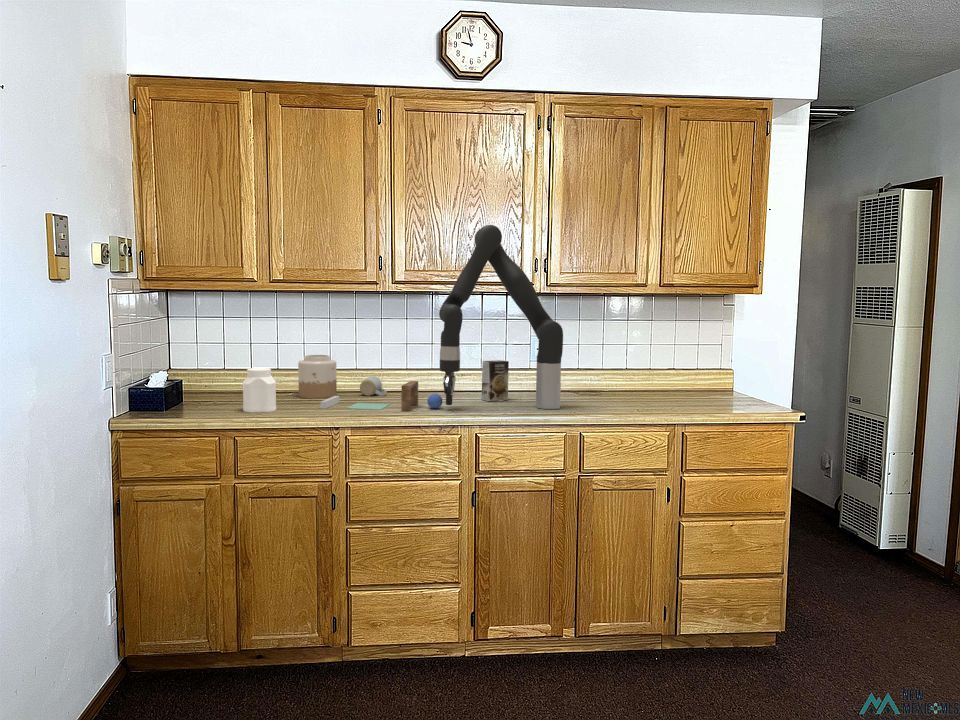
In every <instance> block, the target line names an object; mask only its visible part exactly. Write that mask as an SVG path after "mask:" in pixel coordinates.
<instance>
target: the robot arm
mask: <svg viewBox="0 0 960 720" xmlns="http://www.w3.org/2000/svg"><path fill="white" fill-rule="evenodd" d="M502 239H503V234H502V231H501V229H500V228H499V227H498V226H496V225H494V224H488V225H483V226H482V227H481V228H480V229H478V230H477V232H476V233H475V234H474V243H475V247H474V249H473V251H472V254H471V255H470V256H469V257H470V258H469V259H468V260H467V262H466V265H465V266H464V267H463V269H462V271H461V273H459V275H458V276H457V277H458V278H456V281H455V283H454V285H453V287H452V289H451V291H450V293H449V295H448V296H447V297H446V298H445V300H444V301H443V303H442V304H441V307H440V309H439V312H438V313H439V314H438V315H439V318H440V320H441V321H442V322H443V330H442V331H441V334H440V349H439V372H444V373H445V374H444V376H443V379H442V380H443V381H442V383H443V384H442V385H443V390H444V391H443V392H444V395H445V405H446V406H452V405H453V396H454V392H455V388H456V375H455V373H458V372H460V370H461V347H460V344H461V343H460V341H461V339H460V338H461V337H460V333H461V331H462V325H463V316H464V315H463V311H462V306H463V305H464V304H465V303H467V301H468V300H469V299H470V298H471V295H472V294H473V291H474V289H475V288H476V285H477V282H478V281H479V279H480V277H481V275H482V272H483V270H484V268H485V267H486V264H487V263H488V262H489V264H490V265H491V267H492V268H493V270H494V272H495V274H496V275H497V276H498V279H499V281H500V282H501V283H502V285H503V287H504V289H505V290H506V291H507V293H508V295H509V296H510V297H511V299H512V300H513V302H514V303H515V304H516V306H517V307H518V309H520V311H521V312H522V313H523V315H524V316H525V317H526V319H527V321H528V322H529V324H530V325H531V327H532V330H533V331H534V334H535V335H536V338H537V339H538V351H537V354H536V377H535V378H536V379H535V380H536V383H535V384H536V385H535V407H536V408H537V409H544V410H558V409H559V410H560V409H561V393H562V392H561V386H562V384H561V383H562V380H561V376H562V375H561V374H562V357H563V349H564V348H563V347H564V332H563V327H562V326H561V324H560V323H559V322H557V321H555V320H554V319H553V318H552V317H551V316H550V315H549V314H548V313H547V311H546V310H545V309H544V307H543V305H542V303H541V301H540V298H539V296H538V294H537V291H536V289H535V287H534V285H533V284H532V282H531V280H530V279H529V277H528V276H527V275H526V273H525V272H524V270H523V269H522V268H521V267H520V266H519V264H517V263H516V262H515V261H513V260H512V258H510V257H509V255H508V253H507V252H506V250H505V249H504V247H503V245H502Z"/></svg>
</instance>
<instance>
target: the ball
mask: <svg viewBox="0 0 960 720" xmlns="http://www.w3.org/2000/svg"><path fill="white" fill-rule="evenodd" d="M426 400H427V405H428V407H429V408H431V409H433V410H435V409H439V408H441V406H442V405H443V398H442V396H441V395H440V394H438V393H432V394H430V395H429V396H428V398H427V399H426Z"/></svg>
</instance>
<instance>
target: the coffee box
mask: <svg viewBox="0 0 960 720" xmlns="http://www.w3.org/2000/svg"><path fill="white" fill-rule="evenodd" d="M509 363H510V362H509V360H496V359H495V360H482V367H481V368H482V369H481V401H484V400H486V401H485V402H487V401H497V402H500V401H499V400H509V367H510V366H509Z"/></svg>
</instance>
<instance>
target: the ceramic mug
mask: <svg viewBox="0 0 960 720" xmlns="http://www.w3.org/2000/svg"><path fill="white" fill-rule="evenodd" d="M382 387H383V383H382V381H381V380H380V378H379V377H377V376H375V375H371V376H368V377H366V378H365V379H364V380H362V381H361V383H360V385H359V390H360V393H361V394H362V395H364V396H366V397H372V396H374V395H378V396H381V397H385V396H387V395H386V394H387V393H388V392H387V390H385V389H384V388H382Z"/></svg>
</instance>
